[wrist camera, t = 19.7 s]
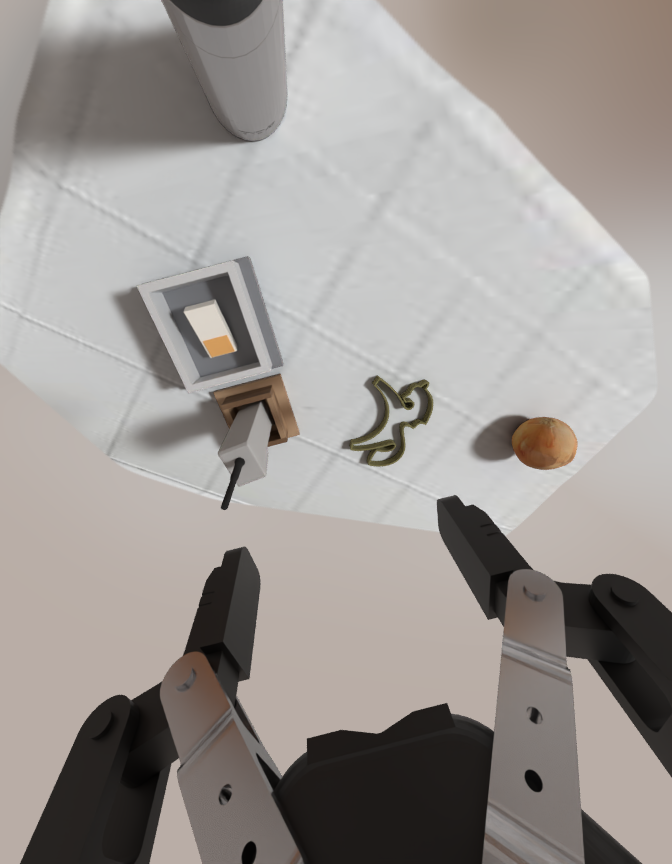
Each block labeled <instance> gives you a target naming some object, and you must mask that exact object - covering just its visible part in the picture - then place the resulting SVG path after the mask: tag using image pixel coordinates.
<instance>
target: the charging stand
mask: <svg viewBox="0 0 672 864" xmlns="http://www.w3.org/2000/svg"><path fill="white" fill-rule="evenodd" d="M214 395H215V398H216V400H217V402H218V404H219V407H220V409H221V411H222V413H223V416H224V418H225V420H226V423H227V425H228V427H229V429H230V427H231V425H232V423H233V421H234V419H235V417H236V415H237V413H238V411H239V409H240V407H241V405H245V404H249V403H252V402H256V401H260V400H264V401H265V403H266V405H267V407H268V409H269V411H270V413H271V415H272V416H273V418H274V420H275V425H273V426H271V430H270V436H269V441H268V446H267V447H269V446H273V445H277V444H280V443H284V442H287V440H288V438H289V437H293V436H297V435H300V433H299V429H298V426H297V423H296V420H295V417H294V414H293V411H292V408H291V405H290V402H289V399H288V396H287V392H286V389H285V386H284V383H283V380H282V377H281V374H277V375H273V376H269V377H266V378H262V379H258V380H254V381H251V382H247V383H243V384H239V385H235V386H232V387H228V388H224V389H220V390H217V391H214Z"/></svg>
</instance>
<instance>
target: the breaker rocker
mask: <svg viewBox="0 0 672 864" xmlns="http://www.w3.org/2000/svg"><path fill="white" fill-rule="evenodd" d="M184 313H185V315H186V317H187V319H188V320H189V322H190V324H191V326H192V327H193V329H194V331H195V332H196V334H197V336H198V338H199V339H200V341H201V343H202V345H203V346H204V348H205V350H206V351H207V353H208V355H209V357H210V358H212V357H216V356H220V355H224V354H228V353H231V352H235V351H237V344H236V342H235V340H234V338H233V336H232V334H231V332H230V329H229V327H228V325H227V323H226V321H225V319H224V317H223V315H222V313H221V311H220V309H219V307H218V304H217V302H216V300H211V301H207V302H203V303H199V304H196V305H192V306H188V307H185V310H184Z"/></svg>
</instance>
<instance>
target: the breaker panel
mask: <svg viewBox="0 0 672 864" xmlns="http://www.w3.org/2000/svg"><path fill="white" fill-rule="evenodd" d="M137 288H138V290H139V292H140V294H141V296H142V298H143V301H144V303H145V305H146V307H147V309H148V311H149V313H150V315H151V317H152V319H153V321H154V323H155V325H156V327H157V330H158V332H159V334H160V336H161V338H162V340H163V342H164V344H165V346H166V348H167V350H168V352H169V354H170V356H171V359H172V361H173V363H174V365H175V367H176V369H177V371H178V373H179V375H180V377H181V379H182V381H183V383H184V385H185V387H186V390H187V392H188V393H191V392H194V391H198V390H202V389H206V388H210V387H213V386H217V385H221V384H225V383H228V382H232V381H236V380H240V379H244V378H247V377H251V376H255V375H259V374H262V373H266V372H270V371H271V369H273V368H277V367H280V366H283V360H282V357H281V354H280V351H279V347H278V344H277V341H276V338H275V335H274V332H273V328H272V325H271V322H270V319H269V316H268V313H267V309H266V306H265V303H264V300H263V297H262V294H261V290H260V287H259V284H258V281H257V278H256V275H255V272H254V268H253V265H252V262H251V259H250V257H248V256H247V257H243V258H240V259H236V260H232V261H228V262H224V263H221V264H217V265H213V266H209V267H205V268H202V269H198V270H194V271H190V272H186V273H183V274H179V275H175V276H171V277H167V278H164V279H160V280H156V281H152V282H148V283H145V284H141V285H137ZM211 300H216V302H217V304H218V307H219V309H220V311H221V313H222V315H223V317H224V319H225V321H226V323H227V325H228V327H229V329H230V332H231V334H232V336H233V338H234V340H235V342H236V344H237V351H235V352H231V353H228V354H224V355H220V356H216V357H212V358H210V357H209V355H208V353H207V351H206V350H205V348H204V346H203V345H202V343H201V341H200V339H199V338H198V336H197V334H196V332H195V331H194V329H193V327H192V326H191V324H190V322H189V320H188V319H187V317H186V315H185V313H184V310H185V307H188V306H192V305H196V304H199V303H203V302H207V301H211Z"/></svg>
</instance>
